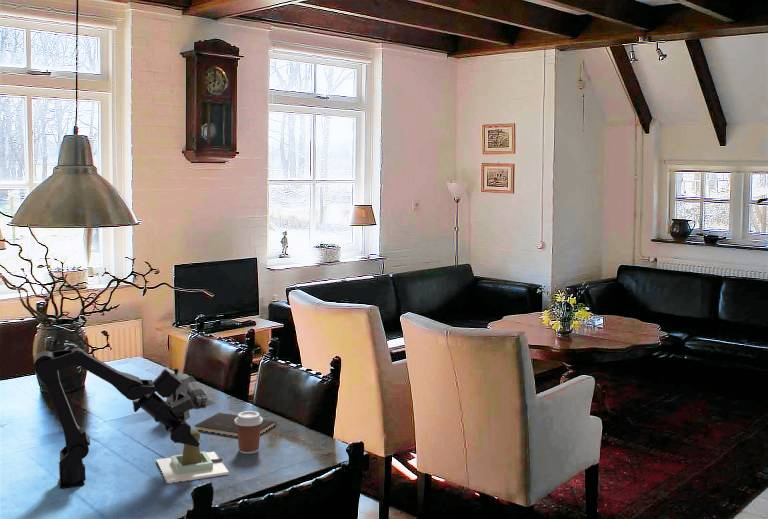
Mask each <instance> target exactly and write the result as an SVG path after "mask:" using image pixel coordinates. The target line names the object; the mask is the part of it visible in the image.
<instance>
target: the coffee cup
mask: <svg viewBox="0 0 768 519" xmlns="http://www.w3.org/2000/svg"><path fill="white" fill-rule="evenodd" d="M237 415H238V417H237V418H236V419H235V420H234V421H235V424H236V425H237V434H238V437H237V443H238V452H239V451H240V452H241V453H240V452H239V453H240V454H243V453H244V454H245V455H251V454H257V453H258V452H259V451H260V439H261V438H260V437H261V435H260V428H261V423H262V422H263V417H262V416H261V415H260V413H259V412H258V411H253V410H250V411H249V410H247V411H246V410H245V411H242V412H239V413H238V414H237Z"/></svg>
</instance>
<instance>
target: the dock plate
mask: <svg viewBox="0 0 768 519" xmlns="http://www.w3.org/2000/svg"><path fill="white" fill-rule="evenodd" d="M200 456H201V463H197V464H190V465H183V466H181V464H182V457H183V453H182V454H175V455H171V456H170V457H166V458H158V459H156V460H155V462H156V461H157V463H158V465H159V467H160V469H161V470H160V469H159V470H160V472H161V471H162V472H161V474H162V473H163V474H162V476H163V478H164V480H165V482H166V484H167V483H169V484H174V483H173V482H175V483H180V482H179V481H182V482H188V481H194V480H200V479H207V478H214V477H219V476H226V475H229V474H230V472H229V470H228V469H227V467H226V466H225V464H224V463H223V461H224V459H223V458H222V457H219V455H217V454H216V452H215V451H209V452H206V451H204V450H203V451H200ZM157 463H156V464H157ZM158 465H157V466H158ZM159 467H158V468H159ZM187 480H188V481H187Z"/></svg>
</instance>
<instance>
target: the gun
mask: <svg viewBox="0 0 768 519" xmlns="http://www.w3.org/2000/svg"><path fill="white" fill-rule="evenodd" d="M189 376H190V377H189V384H188V391H187V395H189V396H190V398H191V400H192V401H193V402H194V404H196V405H197V406H199V405H200V406H204V405H205V404H206V403H207V402H208V396H207V394H206V393H205V391H204V390H203V389H202V388H201V386H199V384H198V383H197V380H196V379H195V378H194V376H193V375H189Z"/></svg>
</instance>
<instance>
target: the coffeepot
mask: <svg viewBox="0 0 768 519" xmlns="http://www.w3.org/2000/svg"><path fill="white" fill-rule="evenodd" d="M173 372H174V373H173ZM173 372H172V373H173V374H174V375H175V376H176V377H178V378H179V379H180V380H181V382H182V383H183V384H182V385H181V386H180V387H179V388H178V389H177V390H176V391H175V392H174V393H173V394H172V395H171V396H170V397H167V398H166V400H165V402H166V401H167V402H170V403H171V404H172V403H173V402H175V400H176V397H177V394H179V393H182V394H184V395H185V396H186V394H187V391H188V384H189V377H190V376H191V375H188V374H187V373H181V372H179V368H173ZM187 395H188V394H187ZM190 416H191V415H190V410H188V411H186V412H184V419H185V420H187V419H189V417H190ZM186 418H187V419H186Z"/></svg>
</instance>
